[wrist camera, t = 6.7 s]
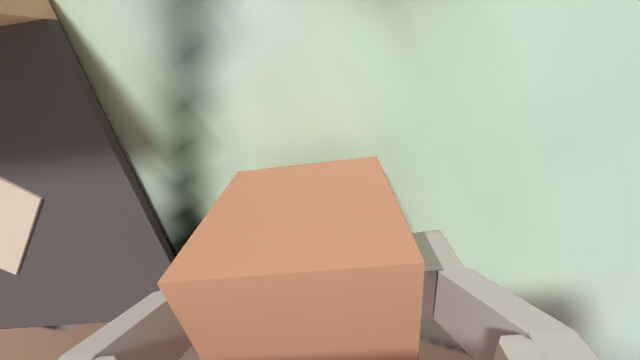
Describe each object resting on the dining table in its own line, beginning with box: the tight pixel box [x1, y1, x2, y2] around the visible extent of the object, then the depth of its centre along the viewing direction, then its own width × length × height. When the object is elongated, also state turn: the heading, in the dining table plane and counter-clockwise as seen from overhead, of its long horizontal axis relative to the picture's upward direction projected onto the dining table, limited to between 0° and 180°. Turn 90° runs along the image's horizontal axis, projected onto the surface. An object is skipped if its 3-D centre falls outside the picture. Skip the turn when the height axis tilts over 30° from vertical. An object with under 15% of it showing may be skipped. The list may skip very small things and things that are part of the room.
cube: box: [157, 157, 425, 360], centre depth 8 cm, size 5×5×5 cm
